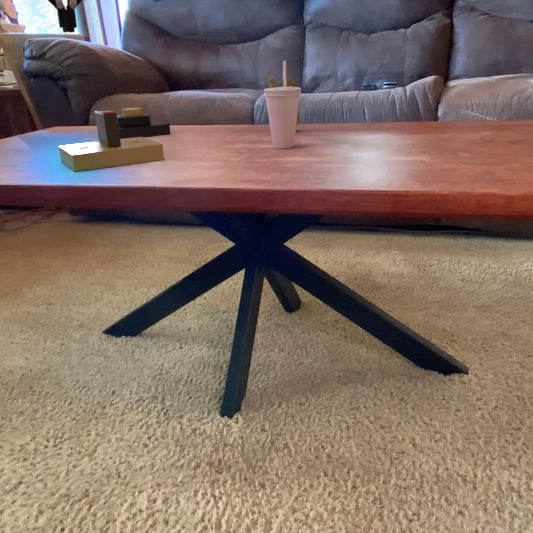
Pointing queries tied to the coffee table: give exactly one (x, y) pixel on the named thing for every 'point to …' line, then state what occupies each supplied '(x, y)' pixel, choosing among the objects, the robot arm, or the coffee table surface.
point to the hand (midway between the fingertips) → (68, 31)
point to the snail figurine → (289, 84)
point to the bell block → (141, 127)
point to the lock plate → (110, 154)
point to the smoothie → (283, 112)
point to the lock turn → (107, 128)
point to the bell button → (132, 112)
